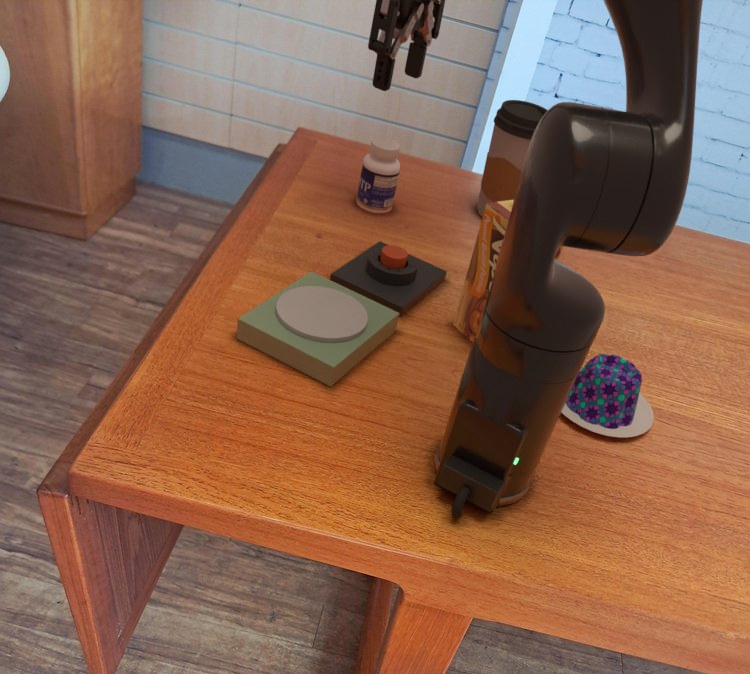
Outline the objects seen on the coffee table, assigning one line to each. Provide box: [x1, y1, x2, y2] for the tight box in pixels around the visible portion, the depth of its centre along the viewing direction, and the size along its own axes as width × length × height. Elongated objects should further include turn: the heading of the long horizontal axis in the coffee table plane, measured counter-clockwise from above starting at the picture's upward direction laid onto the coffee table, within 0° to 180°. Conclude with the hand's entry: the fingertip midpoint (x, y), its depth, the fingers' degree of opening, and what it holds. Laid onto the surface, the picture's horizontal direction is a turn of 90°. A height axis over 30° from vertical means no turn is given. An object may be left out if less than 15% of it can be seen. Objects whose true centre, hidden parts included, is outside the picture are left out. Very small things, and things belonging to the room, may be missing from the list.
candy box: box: [452, 200, 564, 344], centre depth 86 cm, size 9×4×15 cm, turn 33°
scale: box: [236, 270, 400, 387], centre depth 85 cm, size 14×12×3 cm
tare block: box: [329, 240, 448, 318], centre depth 96 cm, size 12×10×3 cm
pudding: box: [561, 353, 655, 438], centre depth 85 cm, size 12×12×5 cm
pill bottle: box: [356, 136, 401, 214], centre depth 108 cm, size 5×5×9 cm
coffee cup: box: [476, 99, 549, 218], centre depth 112 cm, size 8×8×15 cm
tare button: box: [380, 244, 409, 269], centre depth 95 cm, size 3×3×2 cm
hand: (397, 82), depth 100 cm, fingers open, 8 cm apart
